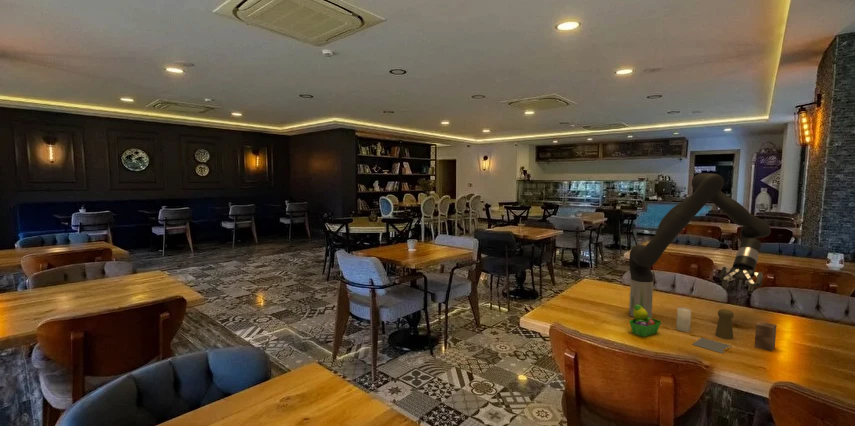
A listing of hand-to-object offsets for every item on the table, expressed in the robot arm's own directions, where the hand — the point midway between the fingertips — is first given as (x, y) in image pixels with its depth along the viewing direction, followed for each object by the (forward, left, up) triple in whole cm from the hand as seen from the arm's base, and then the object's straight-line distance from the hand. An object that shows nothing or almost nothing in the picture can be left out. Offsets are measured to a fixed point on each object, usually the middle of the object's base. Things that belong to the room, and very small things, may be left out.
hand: (736, 290), depth 167 cm
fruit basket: (-36, -17, -17) cm, 43 cm away
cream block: (-20, -8, -17) cm, 27 cm away
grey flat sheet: (-13, -22, -17) cm, 31 cm away
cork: (-6, -10, -17) cm, 21 cm away
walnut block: (+5, -17, -17) cm, 25 cm away
